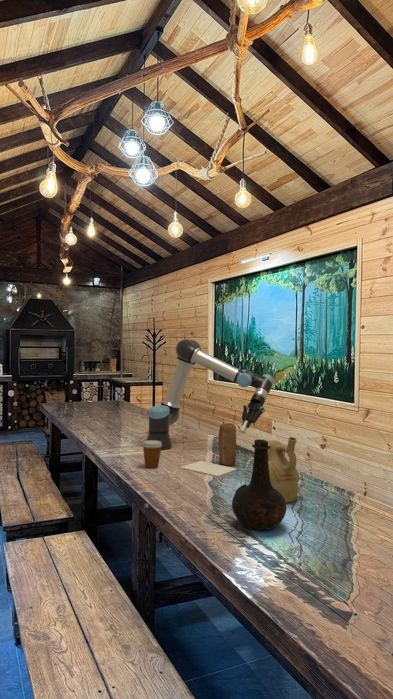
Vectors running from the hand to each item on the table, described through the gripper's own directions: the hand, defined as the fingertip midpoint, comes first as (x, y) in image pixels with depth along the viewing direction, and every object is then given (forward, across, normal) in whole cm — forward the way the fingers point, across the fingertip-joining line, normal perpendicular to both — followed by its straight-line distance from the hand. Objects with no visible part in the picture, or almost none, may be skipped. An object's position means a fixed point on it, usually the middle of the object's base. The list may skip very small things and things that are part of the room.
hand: (242, 431), depth 238 cm
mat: (+31, -1, -11) cm, 32 cm away
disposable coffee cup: (+41, -24, -21) cm, 52 cm away
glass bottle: (+63, +51, -42) cm, 91 cm away
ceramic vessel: (+42, +44, -22) cm, 65 cm away
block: (+21, 0, 0) cm, 21 cm away
